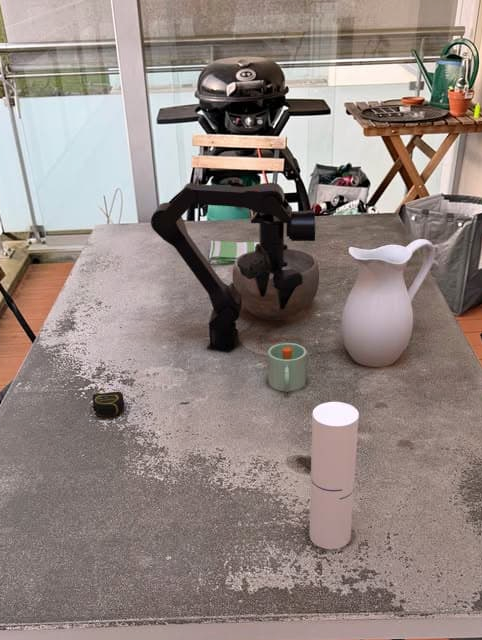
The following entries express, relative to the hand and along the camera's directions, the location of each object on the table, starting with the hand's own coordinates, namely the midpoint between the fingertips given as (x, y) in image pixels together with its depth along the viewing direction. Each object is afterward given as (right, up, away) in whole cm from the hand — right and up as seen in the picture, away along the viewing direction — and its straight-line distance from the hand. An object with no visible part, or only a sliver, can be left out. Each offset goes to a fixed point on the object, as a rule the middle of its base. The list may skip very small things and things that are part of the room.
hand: (272, 302), depth 181 cm
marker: (+3, -20, -9) cm, 22 cm away
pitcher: (+28, -13, +2) cm, 31 cm away
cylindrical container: (+8, -51, -53) cm, 74 cm away
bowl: (+2, +2, +24) cm, 25 cm away
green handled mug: (+3, -21, -10) cm, 24 cm away
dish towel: (-7, +28, +62) cm, 69 cm away
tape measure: (-37, -28, -17) cm, 49 cm away
